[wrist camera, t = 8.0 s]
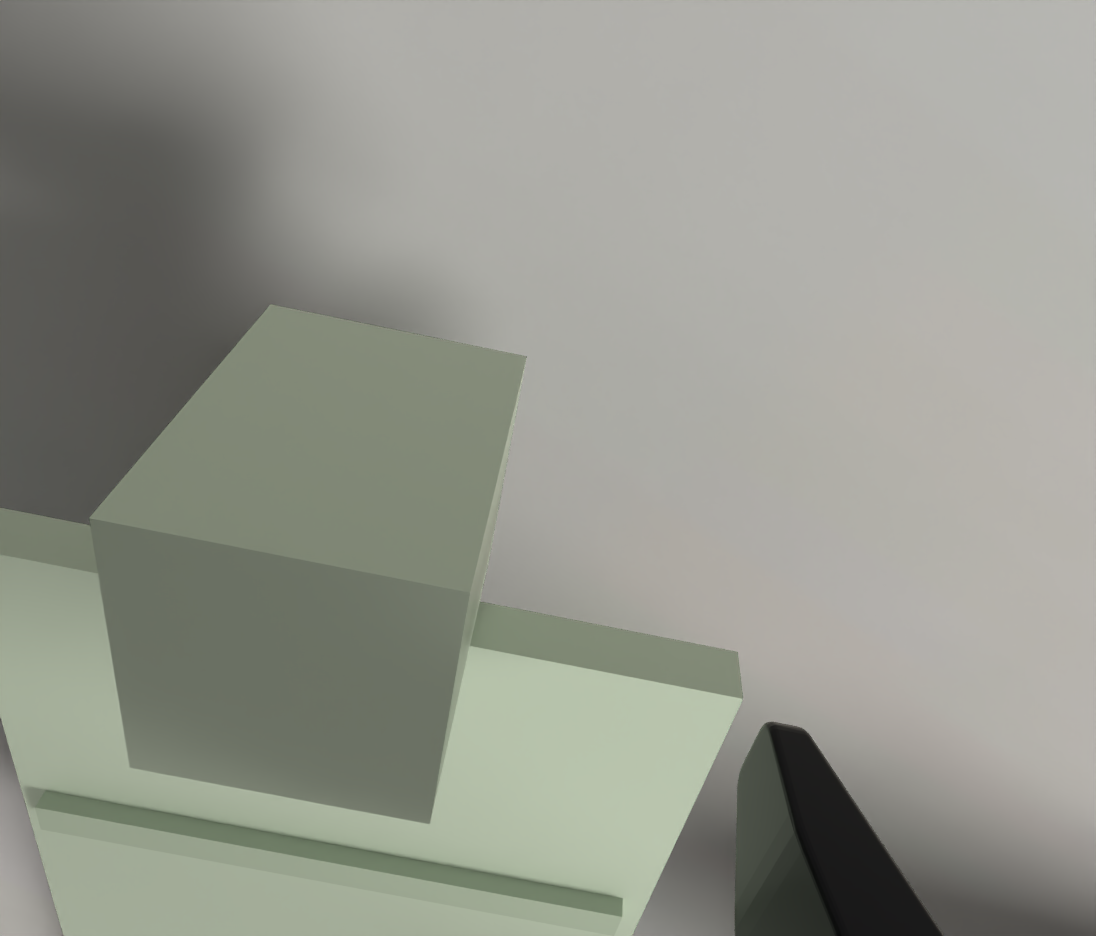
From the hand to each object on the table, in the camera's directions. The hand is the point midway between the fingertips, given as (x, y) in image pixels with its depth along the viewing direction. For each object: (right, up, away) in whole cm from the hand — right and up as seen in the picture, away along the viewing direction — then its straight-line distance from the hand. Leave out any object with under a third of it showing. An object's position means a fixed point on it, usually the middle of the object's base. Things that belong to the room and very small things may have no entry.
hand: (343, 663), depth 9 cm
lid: (-1, -4, +6) cm, 8 cm away
